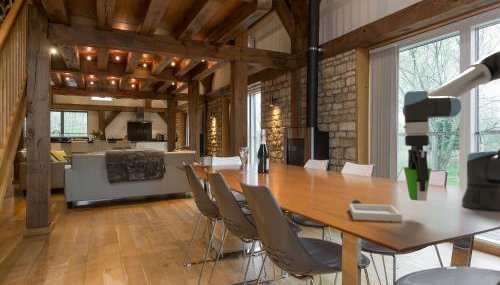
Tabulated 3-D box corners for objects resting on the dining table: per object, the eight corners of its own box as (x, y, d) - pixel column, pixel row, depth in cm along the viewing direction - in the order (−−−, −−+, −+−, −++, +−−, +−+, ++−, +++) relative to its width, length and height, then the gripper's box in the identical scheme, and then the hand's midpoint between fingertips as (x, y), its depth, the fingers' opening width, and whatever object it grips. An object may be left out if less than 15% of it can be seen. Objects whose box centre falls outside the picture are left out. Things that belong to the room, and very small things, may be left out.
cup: (425, 196, 120) (424, 167, 120) (437, 201, 111) (436, 169, 111) (400, 197, 121) (399, 167, 121) (409, 202, 112) (409, 170, 112)
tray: (392, 211, 127) (392, 205, 127) (402, 222, 112) (402, 214, 112) (349, 209, 131) (349, 203, 131) (353, 219, 115) (353, 212, 115)
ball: (360, 207, 134) (360, 199, 134) (361, 209, 131) (361, 200, 131) (351, 207, 135) (351, 198, 135) (352, 209, 132) (352, 200, 131)
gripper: (398, 134, 127) (399, 192, 128) (413, 135, 106) (415, 204, 106) (419, 134, 125) (420, 192, 126) (439, 134, 104) (440, 204, 105)
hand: (417, 197), depth 116 cm, fingers closed on cup, 9 cm apart
